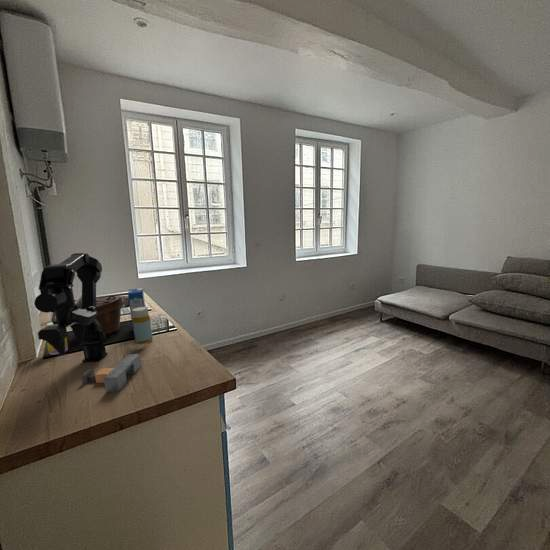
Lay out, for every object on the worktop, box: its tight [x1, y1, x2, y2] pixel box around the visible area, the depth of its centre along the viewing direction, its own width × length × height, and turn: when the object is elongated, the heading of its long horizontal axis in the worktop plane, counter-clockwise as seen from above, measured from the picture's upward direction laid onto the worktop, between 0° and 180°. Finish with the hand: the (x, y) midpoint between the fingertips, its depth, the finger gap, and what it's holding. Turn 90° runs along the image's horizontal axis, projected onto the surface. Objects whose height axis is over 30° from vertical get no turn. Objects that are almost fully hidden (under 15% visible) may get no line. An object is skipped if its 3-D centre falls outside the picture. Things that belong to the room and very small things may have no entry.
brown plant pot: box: [78, 295, 125, 335], centre depth 142 cm, size 18×20×18 cm
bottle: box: [132, 306, 154, 345], centre depth 127 cm, size 7×7×15 cm
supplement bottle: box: [45, 321, 69, 356], centre depth 119 cm, size 7×7×13 cm
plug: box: [80, 367, 115, 385], centre depth 96 cm, size 10×4×3 cm, turn 92°
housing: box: [103, 353, 142, 393], centre depth 96 cm, size 4×16×5 cm, turn 2°
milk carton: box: [127, 287, 146, 334], centre depth 141 cm, size 10×6×20 cm, turn 23°
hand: (72, 348), depth 95 cm, fingers open, 9 cm apart
